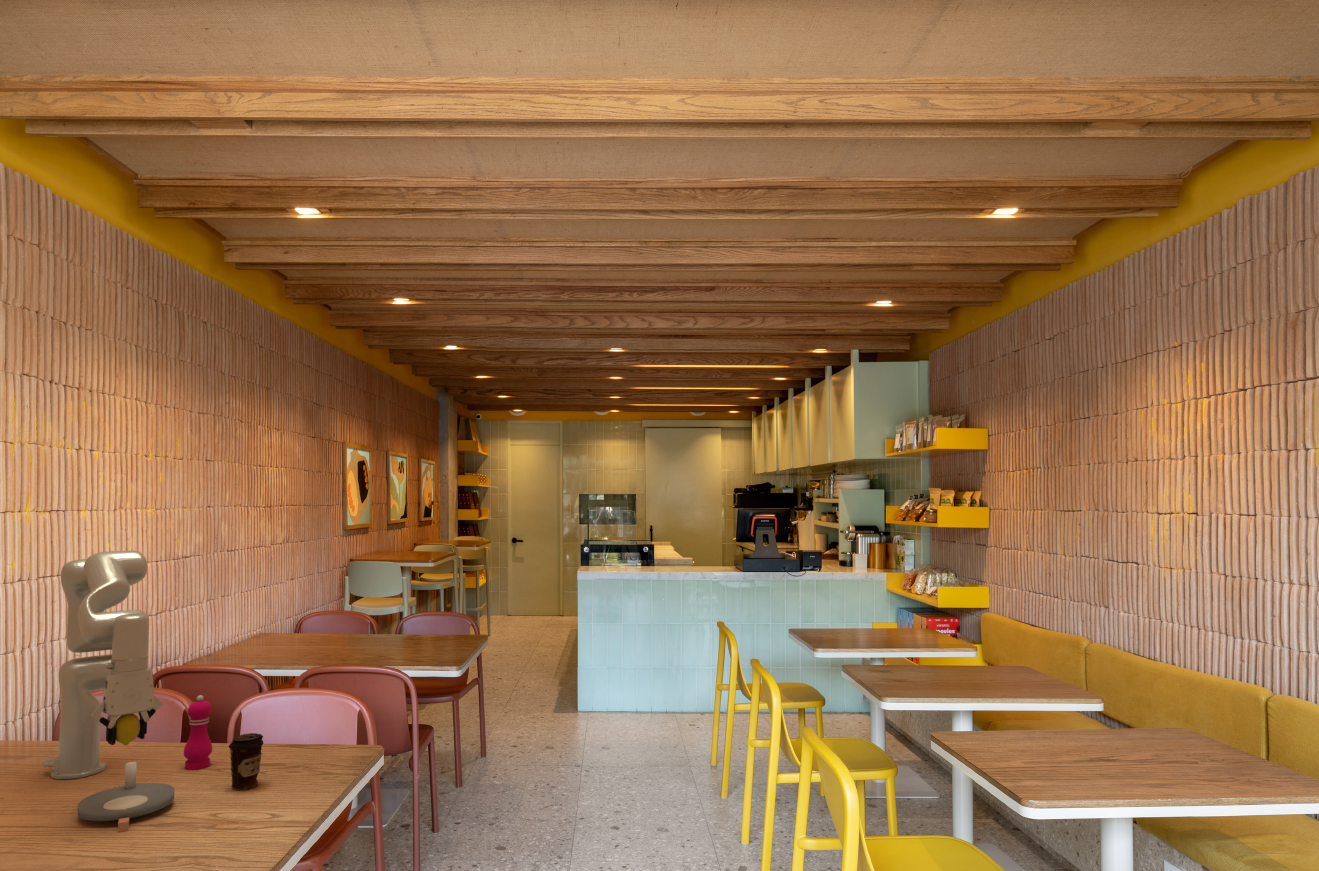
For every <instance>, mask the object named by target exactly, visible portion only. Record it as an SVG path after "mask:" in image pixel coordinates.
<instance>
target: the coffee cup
mask: <svg viewBox="0 0 1319 871" xmlns="http://www.w3.org/2000/svg"><path fill="white" fill-rule="evenodd" d="M263 738H264V736H263V735H262V734H261V733H255V732H254V733H253V732H251V733H243V734H240V735H236V736H235V737H234V738H232V742H230V744H229V745H228V748H229V751H230V752H229V753H230V775H231V788H232V790H235V791H240V790H241V791H242V790H248V789H252V788H255V787H257V785H259V780H258V779H257V778H258V775H259V773H260V771H261V760H262V754H263V753H262V748H263V747H262V746H263V745H264V741H263Z"/></svg>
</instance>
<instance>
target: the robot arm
mask: <svg viewBox="0 0 1319 871" xmlns="http://www.w3.org/2000/svg"><path fill="white" fill-rule="evenodd" d="M147 573H148V562H147V559H146V557H145V554H143V553H142V552H141V551H138V550H116V551H115V550H113V551H102V552H101V551H100V552H97V553H93V554H91V555H90V556H88V557H87V558H82V559H75V560H71V561H68V562H66V563H64V564H63V566H62V568H61V570H60V584H61V587H62V591H63V593H64V595H65V598H66V602H67V618H66V619H67V620H66V621H67V623H66V645H67V649H68V650H69V651H70V652H71V653H76V654H77V653H80V654H81V653H93V652H102V651H111V653H110V654H103V655H91V656H85V657H83V656H82V657H76V658H73V659H70V660H67V661H65V662H64V663H63V664H62V665H61V666H60V667H59V670H58V683H59V685H58V686H59V693H60V694H59V695H60V718H59V719H60V720H59V735H58V736H59V738H58V755H57V757H56V758H54V757H53V758H52V757H49V758H43V762H42V766H43V768H51V767H52V769H53V770H51V771H50V777H51V778H52V779H56V780H70V779H79V778H84V777H88V776H92V775H96V774H99V773H100V772H103V771H104V770H105V769H106V763H105V762H104V761H101V760H100V752H101V750H100V749H101V733H102V732H101V729H102V725H103V726H105V727H106V728H105V741H106V742H107V744H109V745H111V746H114V745H115V744H116V743H117V740H116V728H115V727H114V725H115V722H116V720H117V719H118V718H119V717H120V716H121V715H127V714H138V716H139V717H138V718H139V721H140V732H139V734H138V736H137V737H136V738H138V739H141V740H144V739H145V736H146V735H147V733H148V722H149V721H150V719H151V718H152V717H153V716H154V715H155V713H156V712H157V711H158V710H159V709H160V708H161V707H162V706H163V702H162V701H161V700H160V699H159V698H158V697H156V695H155V689H154V688H155V687H154V678H153V671H152V669H151V668H149V667H148V662H149V657H148V656H149V642H150V640H149V639H150V638H149V636H150V618H149V616H148V614H146V612H145V611H143V610H141V609H129V610H127V609H126V610H116V611H113V610H112V611H106V610H108V609H110V608H113V607H114V606H117V605H119V604H121V603H122V602H123V601H125V600H126V599H127V598H128V596H129V595H130V592H131V586H133V585H135V584H138V583H140V582H141V581H143V579H144V578H145V577H146V575H147ZM98 690H103V695H102V702H100V700H99V699H98V698H96V696H94V695H93V694H92V692H94V691H95V692H96V691H98ZM102 713H103V714H106V715H107V717H104V716H103V715H102Z"/></svg>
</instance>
